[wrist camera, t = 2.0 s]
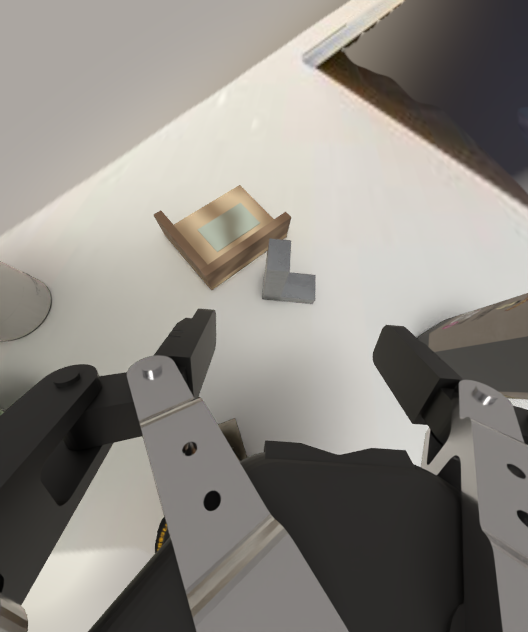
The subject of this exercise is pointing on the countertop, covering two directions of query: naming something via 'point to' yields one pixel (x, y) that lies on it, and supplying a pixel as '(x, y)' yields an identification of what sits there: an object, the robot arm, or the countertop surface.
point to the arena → (223, 226)
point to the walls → (232, 257)
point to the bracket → (285, 276)
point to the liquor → (487, 345)
